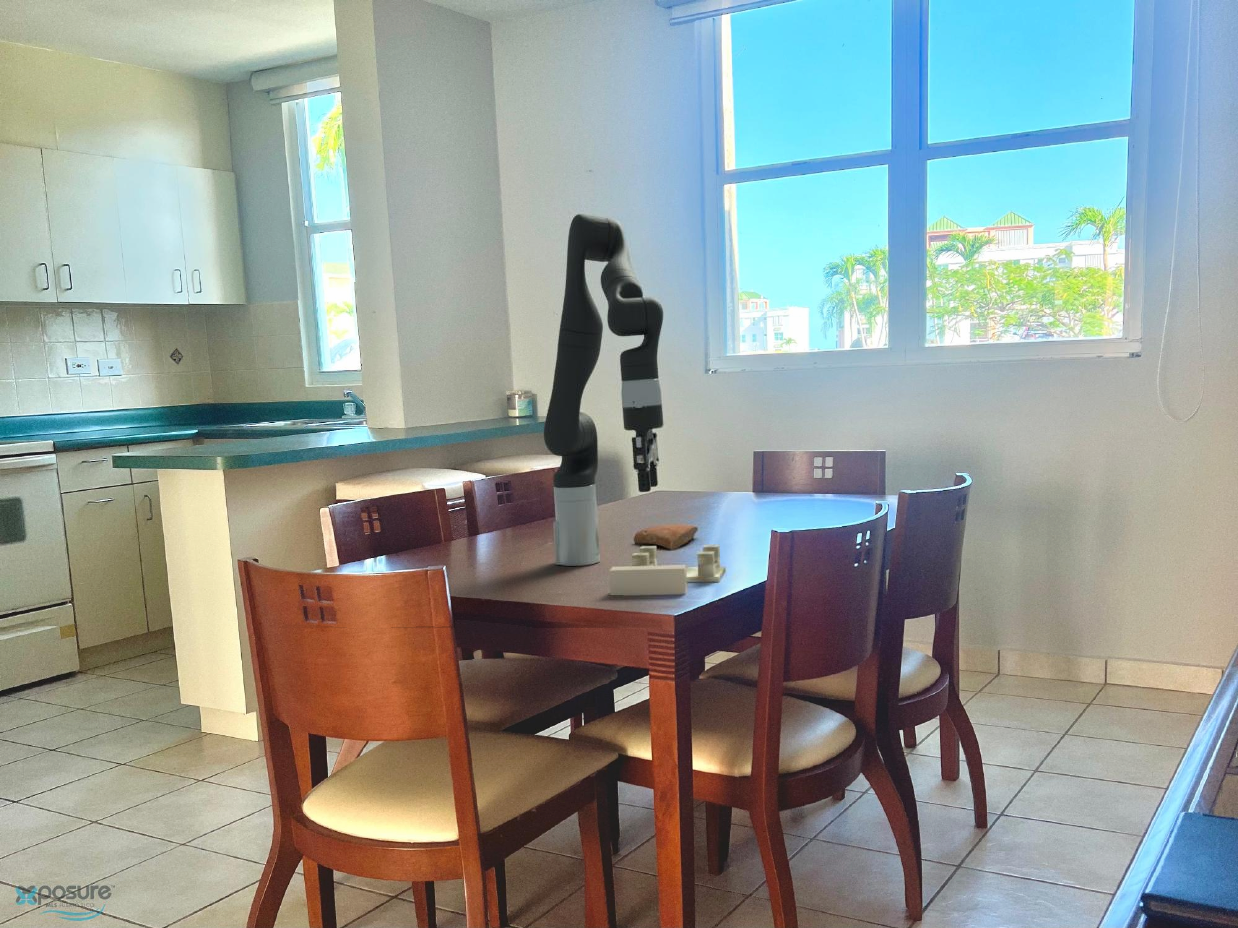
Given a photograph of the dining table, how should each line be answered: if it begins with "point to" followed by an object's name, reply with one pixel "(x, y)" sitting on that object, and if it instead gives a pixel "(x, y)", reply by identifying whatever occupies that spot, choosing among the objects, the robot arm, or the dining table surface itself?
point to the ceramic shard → (666, 535)
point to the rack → (703, 573)
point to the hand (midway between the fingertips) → (648, 489)
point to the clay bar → (648, 580)
